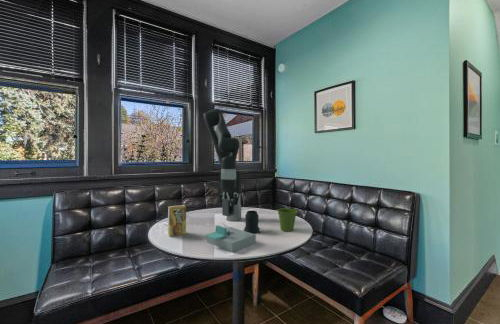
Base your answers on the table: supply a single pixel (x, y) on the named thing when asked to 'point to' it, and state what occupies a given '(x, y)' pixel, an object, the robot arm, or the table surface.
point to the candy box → (176, 220)
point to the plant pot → (287, 219)
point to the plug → (226, 207)
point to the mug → (251, 222)
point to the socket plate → (234, 240)
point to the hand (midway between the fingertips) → (228, 212)
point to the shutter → (218, 233)
